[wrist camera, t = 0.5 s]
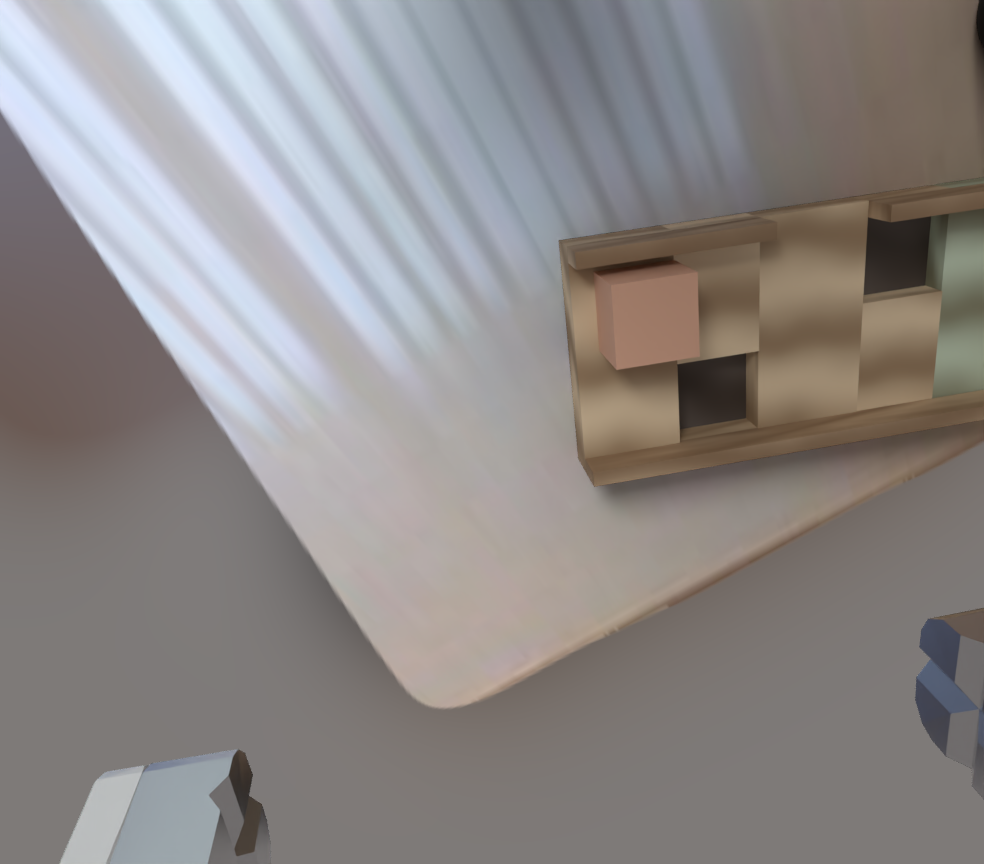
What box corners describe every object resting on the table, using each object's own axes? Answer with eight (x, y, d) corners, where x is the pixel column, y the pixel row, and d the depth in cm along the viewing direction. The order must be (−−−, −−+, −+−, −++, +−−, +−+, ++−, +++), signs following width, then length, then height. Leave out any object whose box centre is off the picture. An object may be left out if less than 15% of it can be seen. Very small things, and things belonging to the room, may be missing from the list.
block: (593, 271, 48) (611, 285, 45) (673, 259, 49) (697, 272, 45) (599, 350, 50) (616, 369, 47) (676, 338, 51) (699, 356, 47)
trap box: (558, 240, 50) (575, 252, 45) (1012, 173, 52) (1067, 178, 48) (578, 458, 55) (594, 486, 51) (985, 389, 58) (1032, 411, 53)
